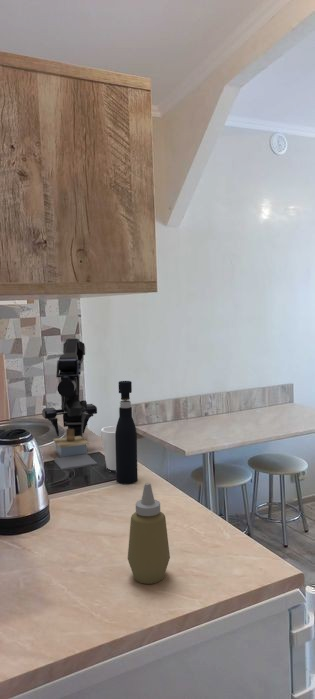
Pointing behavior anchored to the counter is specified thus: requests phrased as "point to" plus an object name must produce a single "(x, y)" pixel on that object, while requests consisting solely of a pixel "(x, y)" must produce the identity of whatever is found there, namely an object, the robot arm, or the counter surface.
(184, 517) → the counter surface
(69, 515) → the counter surface
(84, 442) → the lid
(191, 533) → the counter surface
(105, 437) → the foam cup
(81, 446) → the dish
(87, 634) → the counter surface
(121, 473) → the black bottle
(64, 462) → the mat
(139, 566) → the squeeze bottle
